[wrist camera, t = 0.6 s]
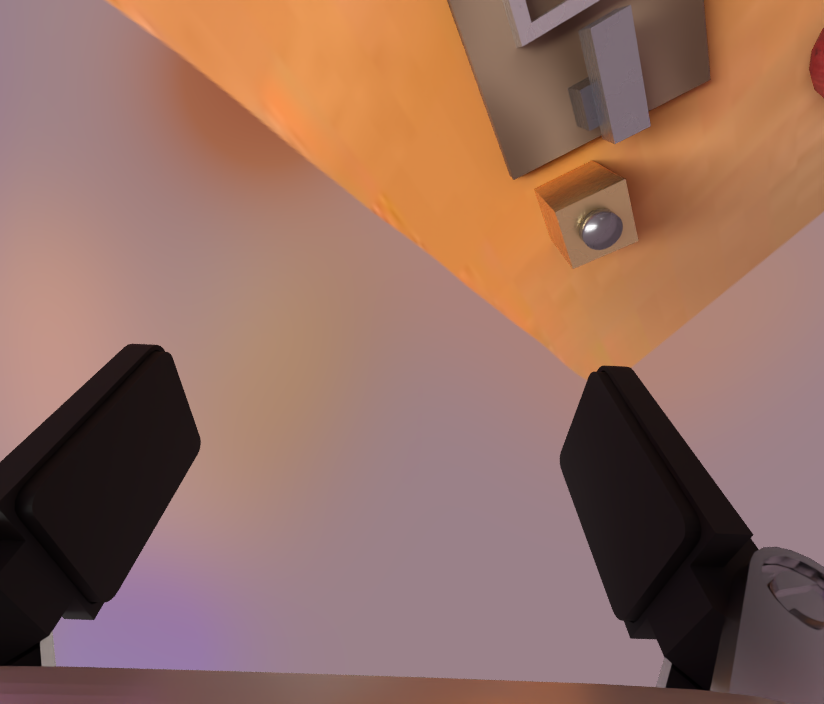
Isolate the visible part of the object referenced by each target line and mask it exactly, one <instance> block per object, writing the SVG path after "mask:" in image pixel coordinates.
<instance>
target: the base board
mask: <svg viewBox="0 0 824 704" xmlns="http://www.w3.org/2000/svg"><path fill="white" fill-rule="evenodd" d="M447 1H448V4H449V7H450V10H451V13H452V15H453V18H454V21H455V24H456V26H457V29H458V32H459V35H460V38H461V40H462V43H463V46H464V49H465V52H466V54H467V57H468V60H469V63H470V65H471V68H472V71H473V74H474V77H475V79H476V82H477V85H478V88H479V90H480V93H481V96H482V99H483V102H484V104H485V107H486V110H487V113H488V116H489V118H490V121H491V124H492V127H493V129H494V132H495V135H496V138H497V141H498V143H499V146H500V149H501V152H502V155H503V157H504V160H505V163H506V166H507V168H508V171H509V174H510V176H511V177H512V178H513V180H515V179H516V178H518V177H520V176H522V175H524V174H526V173H528V172H530V171H532V170H534V169H536V168H538V167H540V166H542V165H544V164H546V163H548V162H550V161H552V160H554V159H556V158H558V157H560V156H562V155H564V154H566V153H568V152H569V151H571V150H573V149H575V148H577V147H579V146H581V145H583V144H585V143H587V142H589V141H591V140H593V139H595V138H597V137H599V136H601V130H600V126H599V127H597V128H595V129H593V130H591V131H588V130H586V129H583V128H581V127H578V126H577V124H576V120H575V116H574V112H573V108H572V104H571V100H570V97H569V93H568V89H567V88H569V87H571V86H573V85H574V84H576V83H578V82H580V81H582V80H583V79H585V78H587V77H588V73H587V69H586V64H585V60H584V55H583V51H582V47H581V42H580V38H579V33H578V31H579V30H580V29H582V28H584V27H586V26H587V25H589V24H591V23H592V22H594V21H596V20H597V19H599V18H601V17H603V16H604V15H606V14H608V13H609V12H611V11H613V10H614V9H617V8H621V7H624V6H628V5H631V9H632V15H633V21H634V27H635V33H636V39H637V45H638V52H639V58H640V64H641V70H642V76H643V82H644V88H645V94H646V100H647V106H648V111H650V110H652V109H654V108H656V107H658V106H660V105H662V104H664V103H666V102H668V101H670V100H672V99H674V98H676V97H677V96H679V95H681V94H683V93H685V92H687V91H689V90H691V89H693V88H695V87H697V86H699V85H701V84H703V83H705V82H707V81H709V80H710V68H709V57H708V45H707V33H706V22H705V10H704V0H599V1H598V2H596V3H594V4H593V5H591V6H589V7H588V8H586V9H584V10H583V11H581V12H579V13H578V14H576V15H574V16H573V17H571V18H569V19H568V20H566V21H564V22H563V23H561V24H559V25H558V26H556V27H554V28H553V29H551V30H549V31H548V32H546V33H544V34H543V35H541V36H539V37H538V38H536V39H534V40H533V41H531V42H529V43H528V44H526V45H524V46H523V47H518V48H516V45H515V41H514V38H513V35H512V31H511V28H510V25H509V21H508V18H507V15H506V11H505V8H504V5H503V2H502V0H447ZM525 1H526V4H527V8H528V12H529V15H530V19H531V21H532V20H534V19H536V18H537V17H539V16H541V15H542V14H544V13H545V12H547V11H549V10H550V9H552V8H554V7H555V6H557V5H558V4H560V3H562V2H563V1H565V0H525Z"/></svg>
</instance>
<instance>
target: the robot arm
mask: <svg viewBox="0 0 824 704" xmlns="http://www.w3.org/2000/svg"><path fill="white" fill-rule="evenodd" d="M200 442H201V441H200V436H199V433H198V430H197V427H196V424H195V421H194V418H193V416H192V413H191V410H190V407H189V404H188V401H187V398H186V395H185V392H184V390H183V387H182V384H181V381H180V378H179V375H178V372H177V369H176V366H175V364H174V360H173V358H172V356H171V354H170V353H168V352H165V351H164V349H163V348H162V347H161V346H159V345H147V344H146V345H145V344H129V345H127V346H126V347H124V348H123V349H122V350H121V351H120V352H119V353H118V354H117V355H115V357H113V358H112V359H111V360H110V361H109V362H108V363H107V364H106V365H105V366H104V367H103V368H101V369H100V370H99V371H98V372H97V373H96V374H95V375H94V376H93V377H92V378H91V379H90V380H88V381H87V382H86V383H85V384H84V385H83V386H82V387H81V388H80V389H79V390H78V391H77V392H75V393H74V394H73V395H72V396H71V397H70V398H69V399H68V400H67V401H66V402H65V403H64V404H63V405H61V406H60V408H58V409H57V410H56V411H55V412H54V413H53V414H52V415H51V416H50V417H49V418H47V419H46V420H45V421H44V422H43V423H42V424H41V425H40V426H39V427H38V428H37V429H36V430H35V431H33V432H32V433H31V434H30V435H29V436H28V437H27V438H26V439H25V440H24V441H23V442H22V443H21V444H19V445H18V446H17V447H16V448H15V449H14V450H13V451H12V452H11V453H10V454H9V455H7V456H6V457H5V458H4V460H2V461H1V462H0V704H824V567H823V566H821V565H820V564H818V563H817V562H815V561H814V560H812V559H810V558H808V557H806V556H804V555H801V554H799V553H797V552H794V551H792V550H788V549H784V548H779V547H763V548H761V549H760V550H759V549H758V548H757V547H756V545H755V544H754V542H753V541H752V540H751V537H752V536H753V534H752V532H751V531H750V529H749V528H748V527H747V525H746V524H745V523H744V521H743V520H742V519H741V517H740V516H739V514H738V513H737V512H736V510H735V509H734V508H733V506H732V505H731V504H730V502H729V501H728V499H727V498H726V497H725V495H724V494H723V493H722V491H721V490H720V488H719V487H718V486H717V484H716V483H715V482H714V480H713V479H712V478H711V476H710V475H709V473H708V472H707V471H706V469H705V468H704V467H703V465H702V464H701V462H700V461H699V460H698V459H697V457H696V456H695V454H694V453H693V452H692V450H691V449H690V447H689V446H688V445H687V443H686V442H685V441H684V439H683V438H682V436H681V435H680V434H679V432H678V431H677V430H676V428H675V427H674V426H673V424H672V423H671V421H670V420H669V419H668V417H667V416H666V415H665V413H664V412H663V411H662V409H661V408H660V406H659V405H658V404H657V402H656V401H655V400H654V398H653V397H652V396H651V394H650V393H649V391H648V390H647V389H646V387H645V386H644V385H643V383H642V382H641V380H640V379H639V378H638V376H637V375H636V374H635V372H634V371H633V370H632V369H631V368H630V367H622V366H601V367H600V368H599V369H598V370H597V372H592V373H591V374H590V375H589V378H588V380H587V383H586V386H585V388H584V391H583V394H582V397H581V399H580V402H579V405H578V407H577V410H576V413H575V416H574V418H573V421H572V424H571V426H570V429H569V432H568V434H567V437H566V440H565V443H564V445H563V448H562V451H561V454H560V466H561V469H562V472H563V475H564V478H565V481H566V484H567V486H568V489H569V492H570V495H571V497H572V500H573V503H574V506H575V508H576V511H577V514H578V517H579V519H580V522H581V525H582V528H583V530H584V533H585V536H586V539H587V541H588V544H589V547H590V550H591V552H592V555H593V558H594V560H595V563H596V566H597V569H598V571H599V574H600V577H601V579H602V582H603V585H604V588H605V591H606V593H607V596H608V599H609V602H610V604H611V607H612V609H613V612H614V614H615V615H616V617H617V618H618V619H619V620H623V621H624V622H625V625H626V628H627V630H628V633H629V636H630V638H634V639H635V638H636V639H657V641H658V643H659V646H660V648H661V650H662V652H663V655H664V661H663V664H662V668H661V671H660V674H659V678H658V681H657V685H656V687H642V686H624V685H607V684H585V683H558V682H533V681H532V682H531V681H505V680H478V679H451V678H425V677H393V676H364V675H334V674H303V673H302V674H301V673H271V672H239V671H205V670H204V671H203V670H167V669H132V668H131V669H130V668H95V667H56V662H55V653H54V642H53V632H52V630H53V629H54V627H55V626H56V624H57V623H58V621H59V620H60V618H61V617H63V618H64V619H82V620H94V619H95V617H96V616H97V614H98V612H99V610H100V609H101V607H102V606H103V604H104V602H108V601H110V600H111V599H112V598H113V597H114V596H115V595H116V593H117V592H118V590H119V589H120V587H121V585H122V583H123V581H124V580H125V578H126V577H127V575H128V573H129V571H130V570H131V568H132V566H133V564H134V563H135V561H136V559H137V558H138V556H139V554H140V552H141V551H142V549H143V547H144V546H145V544H146V542H147V540H148V539H149V537H150V535H151V534H152V532H153V530H154V528H155V527H156V525H157V523H158V521H159V520H160V518H161V516H162V515H163V513H164V511H165V509H166V508H167V506H168V504H169V503H170V501H171V499H172V497H173V495H174V494H175V492H176V490H177V489H178V487H179V485H180V483H181V482H182V480H183V478H184V477H185V475H186V473H187V471H188V469H189V468H190V466H191V465H192V463H193V461H194V459H195V458H196V456H197V454H198V452H199V449H200Z"/></svg>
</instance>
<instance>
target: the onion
mask: <svg viewBox="0 0 824 704" xmlns="http://www.w3.org/2000/svg"><path fill="white" fill-rule="evenodd" d="M809 70H810V74H811V78H812V82H813V86H814V89H815V90H816V91H817V92H818V93H819V94H820V95H821V96H822V97H823V98H824V28H823V29H822V31H821V33H820V35H819V37H818V39H817V41H816V43H815V45H814V47H813V49H812V53H811V60H810V67H809Z"/></svg>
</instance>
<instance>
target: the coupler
mask: <svg viewBox="0 0 824 704" xmlns="http://www.w3.org/2000/svg"><path fill="white" fill-rule="evenodd" d="M534 190H535V193H536V196H537V199H538V202H539V205H540V208H541V211H542V214H543V217H544V220H545V223H546V226H547V229H548V232H549V235H550V238H551V240H552V241H553V243H554V244H555V245H556V247H557V248H558V250H559V251H560V252H561V254H562V255H563V256H564V258H565V259H566V260H567V262H568V263H569V264H570V266H571V267H572V268H573V269H574V268H576V267H579V266H581V265H583V264H586V263H588V262H590V261H593V260H595V259H597V258H600V257H602V256H604V255H607V254H609V253H611V252H614V251H616V250H619V249H621V248H623V247H626V246H628V245H630V244H633V243H635V242H637V241H638V236H637V231H636V227H635V222H634V217H633V212H632V207H631V203H630V198H629V193H628V188H627V183H626V179H625V178H623V177H621V176H619V175H618V174H616V173H614V172H612V171H610V170H609V169H607V168H605V167H603V166H601V165H600V164H598V163H596V162H594V161H590V162H588V163H586V164H584V165H582V166H580V167H578V168H576V169H574V170H572V171H570V172H568V173H566V174H563V175H561V176H559V177H557V178H555V179H553V180H551V181H549V182H547V183H545V184H543V185H541V186H539V187H537V188H535V189H534Z"/></svg>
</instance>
